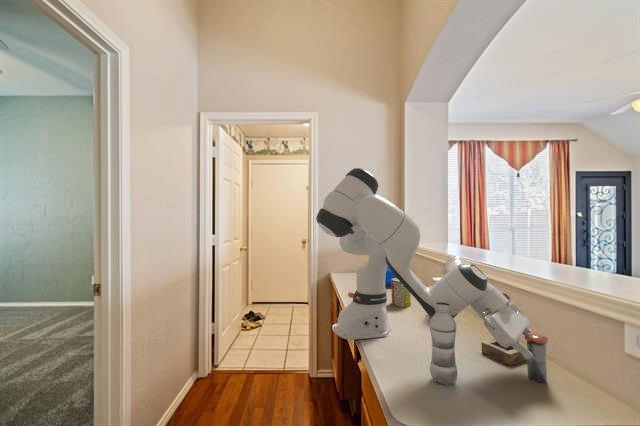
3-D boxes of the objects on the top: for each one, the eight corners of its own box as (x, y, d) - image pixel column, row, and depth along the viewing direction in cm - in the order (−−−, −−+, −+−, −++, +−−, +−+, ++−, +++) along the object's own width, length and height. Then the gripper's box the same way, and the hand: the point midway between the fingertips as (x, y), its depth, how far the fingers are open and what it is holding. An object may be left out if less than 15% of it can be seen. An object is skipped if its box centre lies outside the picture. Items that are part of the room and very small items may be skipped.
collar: (510, 364, 83) (509, 354, 83) (481, 351, 91) (481, 342, 91) (530, 358, 86) (529, 348, 86) (501, 346, 94) (500, 337, 95)
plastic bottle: (425, 375, 78) (424, 300, 78) (449, 373, 79) (447, 299, 79) (437, 389, 72) (435, 308, 72) (463, 387, 72) (461, 307, 73)
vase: (405, 283, 187) (405, 253, 188) (396, 289, 172) (396, 256, 172) (378, 280, 197) (378, 252, 198) (368, 285, 182) (367, 255, 182)
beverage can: (390, 301, 147) (389, 277, 147) (407, 301, 147) (407, 277, 147) (394, 306, 138) (393, 281, 138) (413, 306, 138) (412, 281, 138)
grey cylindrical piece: (541, 385, 72) (540, 341, 73) (521, 376, 77) (520, 334, 77) (553, 381, 74) (551, 338, 74) (533, 372, 79) (532, 331, 79)
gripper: (489, 307, 74) (537, 358, 67) (508, 292, 88) (550, 333, 81) (470, 321, 77) (515, 371, 70) (492, 304, 91) (531, 344, 84)
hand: (534, 350), depth 76 cm, fingers open, 8 cm apart
